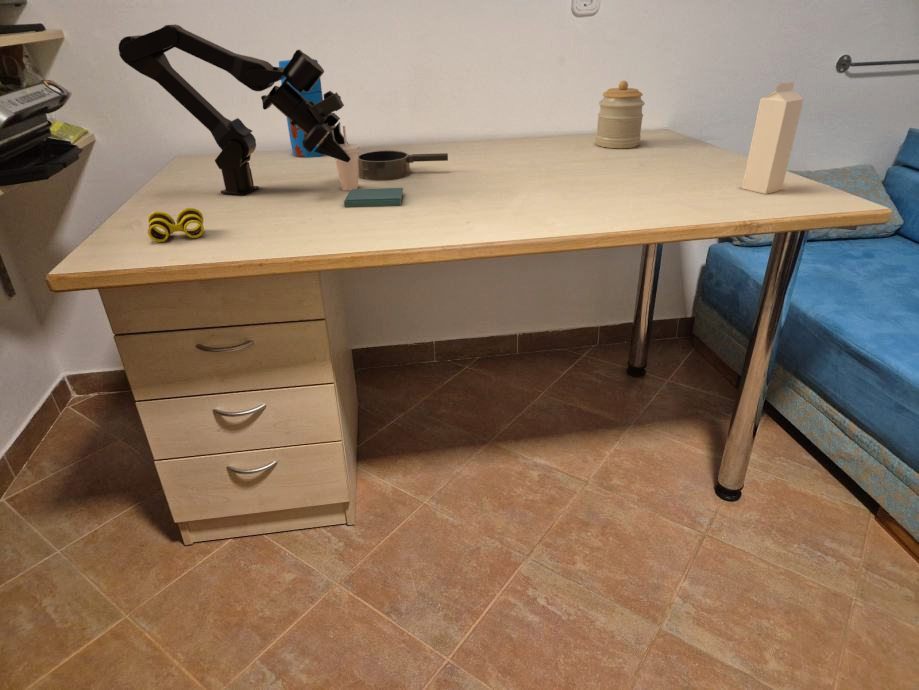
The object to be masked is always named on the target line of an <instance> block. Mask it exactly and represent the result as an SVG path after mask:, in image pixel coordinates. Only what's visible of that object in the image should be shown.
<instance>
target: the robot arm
mask: <svg viewBox="0 0 919 690" xmlns="http://www.w3.org/2000/svg"><path fill="white" fill-rule="evenodd" d="M173 49H178V50H180V51H182V52H184V53H187V54H188V55H191V56H193V57H195V58H197V59H200V60H202V61H204V62H206V63H208V64H210V65H213V66H215V67H217V68H219V69H220V70H223V71H225V72H226V73H228V74H230V75H231V76H232V77H233V78H234V79H236V80H237V81H238V82H240V83H241V84H243V85H244V86H246V87H247V88H248V89H250V90H252V91H254V92H263V91H265V90H267V89H270V88H271V87H272V88H271V89H270V91H269V93H267V95H266V94H263V95H262V96H260V99H261V101H262V109H263V110H264V111H265V110H268V109H269V108H271V106H274V107H275V108H276V109H277V110H278V111H279V112H280V113H281V114H283V115H284V116H285V117H286V119H287V118H288V119H290V120H291V123H290V124H291V125H293V126H295V125H296V126H297V127H299V128H300V129H301V130H302V131H303V132H304V133H305V134H307V135H306V136H305V139H304V140H303V147H304V148H305V149H306V150H307V151H308V152H310V153H311V152H312V151H313V150H314V148H315V147H316V145H317V146H318V148H317V149H316V150H315V151H314V152H316V153H320V154H324V155H323V156H327V157H331V158H332V159H335V158H336V159H339V160H342V161H345V162H349V161H350V157H349V156H348V155H347V153H346V152H345V151H344V150H343V149H342V148H341V146H340V145H339V144H345V143H344V134H343V133H342V132H341V131H342V130H341V121H340V119H341V117H339V116H338V115H337V113H335V112H338V111H340V110H341V109H343V107H344V106H345V104H344V102H343V101H342V97H341V95H339V93H338V92H335V93H334V92H333V91H331V90H328V91H327V92H325V93H323V100H322V101H321V102H319V103H317V104H315V103H314V102H313V101H307V100H306V99H305V98H304V97H302V96H301V95H300V94H299V93H298V92H297V91H296V90H298V91H299V92H301V93H302V92H303V91H306V92H309V91H310V90H311V89H312V87H313V86H314V85H315V83H316V82H317V81H318V79H319V78H320V79H321V77H322V76H323V74H324V73H325V69H324V68H323V67H322V65H320V63H319V62H318V63H317V62H316V61H315V60H316V59H314V58H312V57H310V56H309V55H308V54H306V53H305V52H303V51H302V50H301V49H296V51H295V52H294V53H293V55H292V56H291V59H289V60H290V62H289V63H288V64H287V66H286V67H285V68H283V67H281V68H280V67H279V66H273V64H271V63H270V62H269V61H266V60H263V59H260V58H256V57H253V56H248V55H244V54H239V53H236V52H233V51H231V50H229V49H227V48H225V47H223V46H221V45H218V43H215V42H212V41H210V40H208V39H206V38H204V37H202V36H199V35H197V34H196V33H194V32H192V31H189V30H187V29H185V28H183V27H182V26H181V25H178V24H166V25H163V26H162V27H161V28H158V29H157V30H153V31H151V32H148V33H145V34H142V35H141V34H139V35H129V36H124V37H122V39H120V41H119V43H118V52H119V57H120V59H121V60H122V61H123V62H124V63H125V64H126V65H128V66H129V67H131V68H132V69H133V70H135V71H136V72H138V73H139V74H141V75H143V76H145V77H147V78H149V79H151V80H153V81H155V82H156V83H157V84H158V85H160V86H161V88H163V89H164V90H165V91H166V92H167V93H168V94H170V96H171V97H173V99H174V100H176V101H177V102H178V103H179V104H180V105H181V106H182V107H184V108H185V110H186V111H187V112H189V113H190V114H191V115H192V116H193V117H194V118H195V119H197V121H198V122H199V123H200V124H202V125H203V126H204V127H205V128H206V129H207V130H208V131H209V132H210V134H211V135H212V137H213V139H214V141H215V143H216V144H217V146H218V147H219V148H220V150H221V151H220V152H219V154H218V155H217V156H216V158H215V159H214V162H215V164H216V166H217V167H218V169H219V170H221V174H222V179H223V184H224V188H225V189H222V190H221V191H220V193H221V194H222V195H223V194H224V195H234V196H235V195H237V196H244V195H247V194H250V193H252V192H254V191H256V190H259V189H260V186H259V185H254V179H253V173H252V169H251V166H250V160H251V158H252V157H251V156H252V154H253V153H254V152H255V150H256V148H257V142H256V141H257V140H256V137H255V136H254V135H253V133H252V132H253V130H252V129H250V128H248V127H247V126H246V125H245V124H244V122H243V121H242V120H241V119H240V118H238V117H236V118H235V119H233V120H231V119H229V118H226V117H225V116H224V115H223V114H222V113H221V112H220V111H219V110H217V108H215V106H213V104H211V103H210V102H209V101H208V100H207V99H206V98H205V97H204V96H203V95H202V94H201V93H200V92H199V91H198V90H196V89H195V88H194V87H193V86H192V85H191V84H190V83H189V82H188V81H187V80H186V79H185V78H184V77H183V76H182V75H181V74H180V73H179V72H177V70H176V69H174V68H173V67H172V65H171V63H170V61H169V59H168V57H167V56H166V54H165V53H167V52H169V51H171V50H173ZM284 78H286V79H285V80H284V82H283V83H282V84H280V86H279V85H275V83H277V82H279V81H281V80H282V79H284ZM288 82H289V83H290V84H291V85H292V86H293V87H294V88H295V89H296V90H295V89H294V88H293V87H291V86H290V85H289V84H288ZM347 144H349V142H348V141H347Z"/></svg>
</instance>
